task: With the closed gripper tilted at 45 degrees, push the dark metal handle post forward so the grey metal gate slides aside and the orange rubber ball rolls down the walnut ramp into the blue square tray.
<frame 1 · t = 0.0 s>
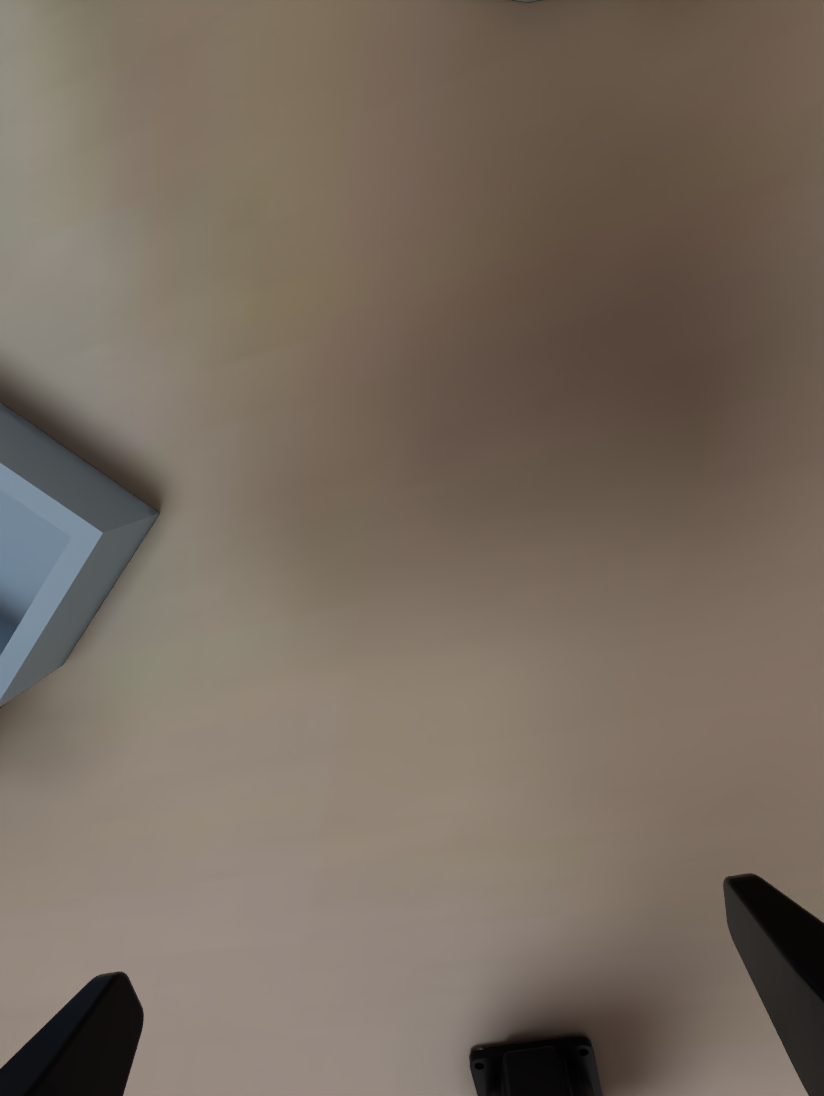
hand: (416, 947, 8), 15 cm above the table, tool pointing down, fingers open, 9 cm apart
blue square tray: (19, 532, 22), on the table
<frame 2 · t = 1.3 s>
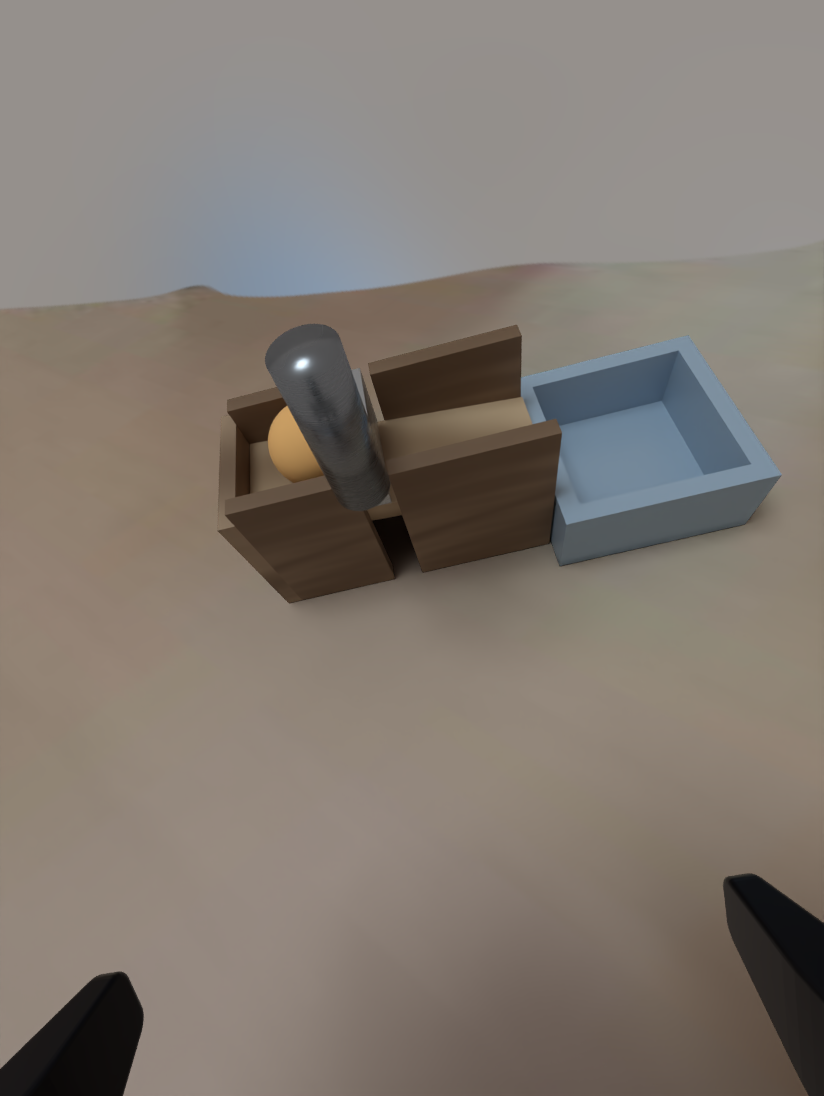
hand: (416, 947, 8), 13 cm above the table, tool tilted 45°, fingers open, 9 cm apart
gate: (347, 407, 17), point 10 cm above the table, slide at 0.0 cm, touching ball
blue square tray: (617, 473, 26), on the table
ramp frame: (418, 520, 27), on the table
ball: (312, 444, 21), point 7 cm above the table, tilted 5°, touching gate, ramp frame
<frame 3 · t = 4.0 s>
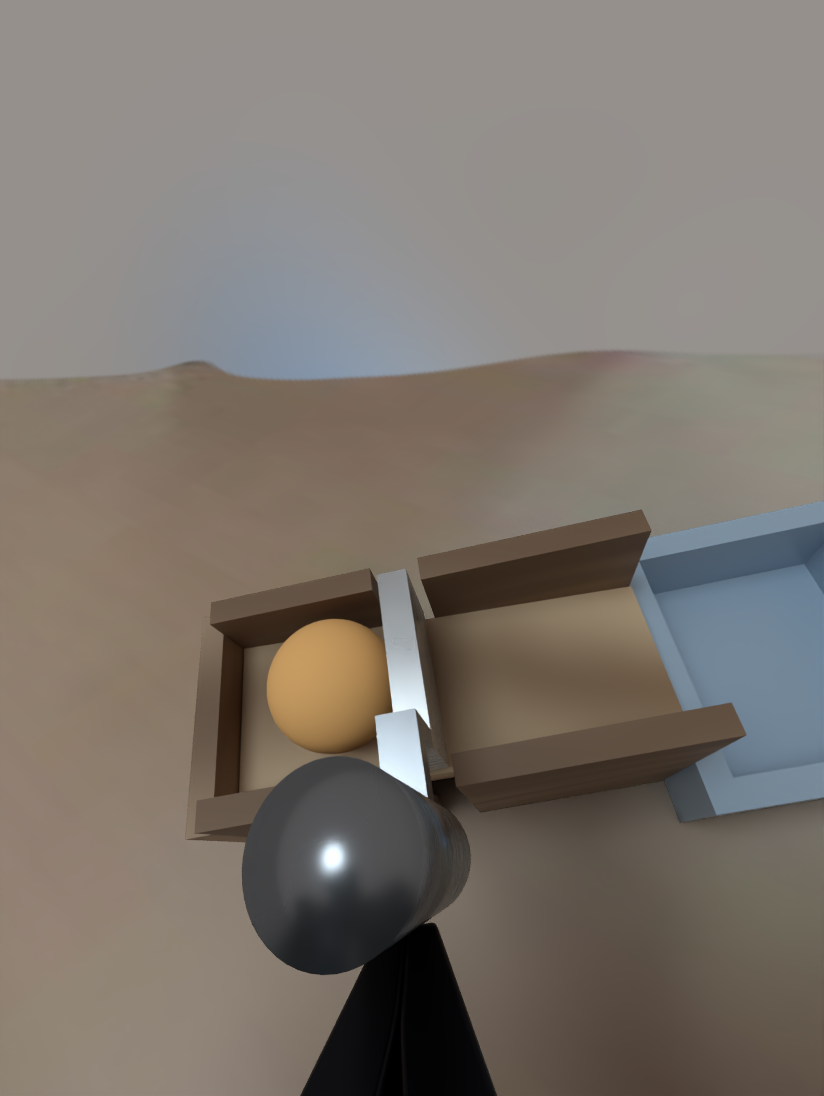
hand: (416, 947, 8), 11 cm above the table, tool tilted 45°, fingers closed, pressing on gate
gate: (395, 693, 10), point 10 cm above the table, slide at 0.3 cm, touching gripper
blue square tray: (750, 671, 19), on the table
ramp frame: (471, 724, 20), on the table
ball: (333, 684, 14), point 7 cm above the table, tilted 6°, touching ramp frame
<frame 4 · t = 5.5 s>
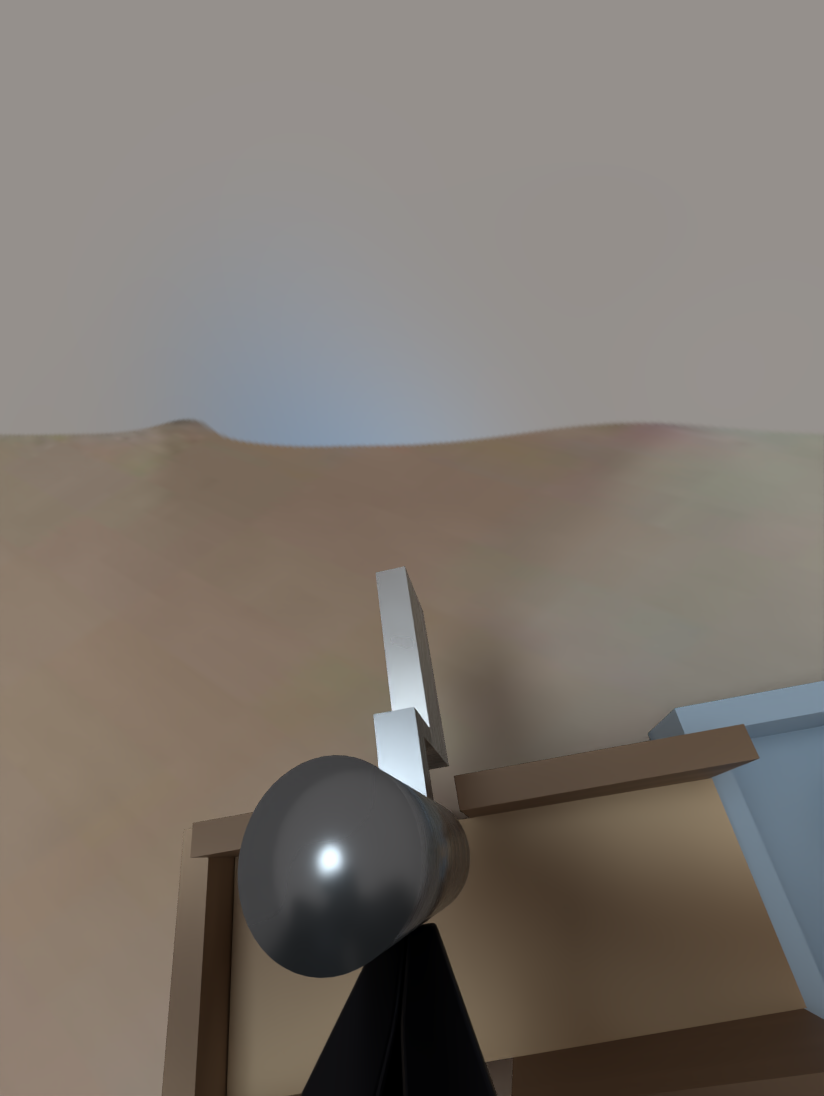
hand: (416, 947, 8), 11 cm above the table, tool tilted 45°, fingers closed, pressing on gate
gate: (394, 691, 10), point 10 cm above the table, slide at 6.1 cm, touching gripper
ramp frame: (507, 905, 17), on the table
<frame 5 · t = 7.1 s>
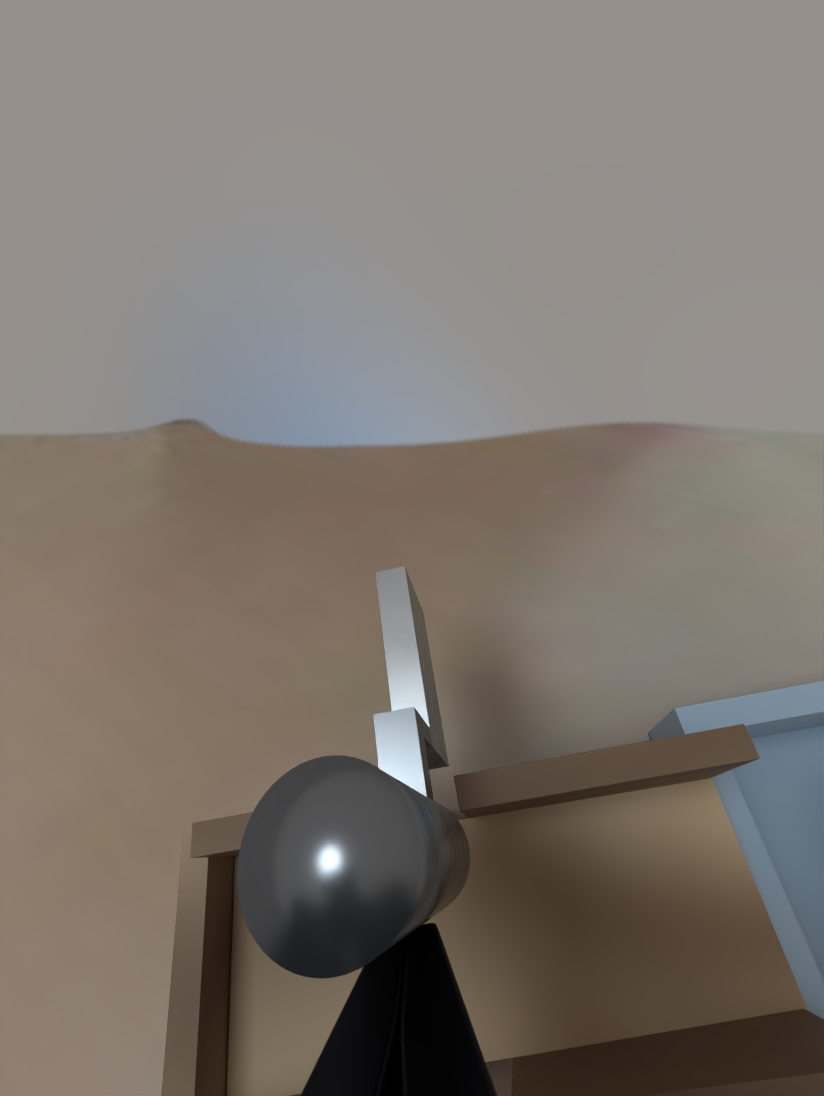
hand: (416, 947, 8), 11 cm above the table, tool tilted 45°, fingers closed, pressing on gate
gate: (393, 691, 10), point 10 cm above the table, slide at 6.1 cm, touching gripper
ramp frame: (507, 905, 17), on the table
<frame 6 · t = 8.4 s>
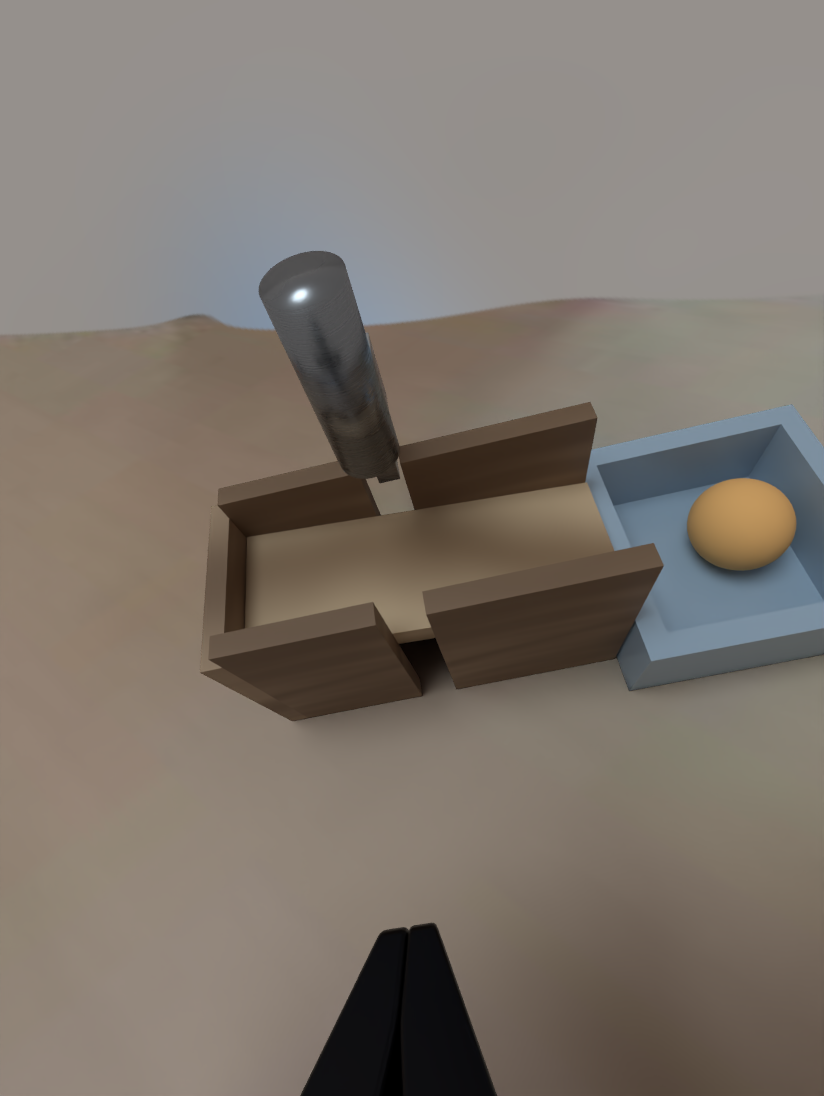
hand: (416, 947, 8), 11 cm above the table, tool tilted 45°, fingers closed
gate: (353, 367, 16), point 10 cm above the table, slide at 6.1 cm
blue square tray: (696, 568, 21), on the table
ramp frame: (450, 619, 22), on the table
ball: (739, 524, 20), point 2 cm above the table, tilted 160°, touching blue square tray
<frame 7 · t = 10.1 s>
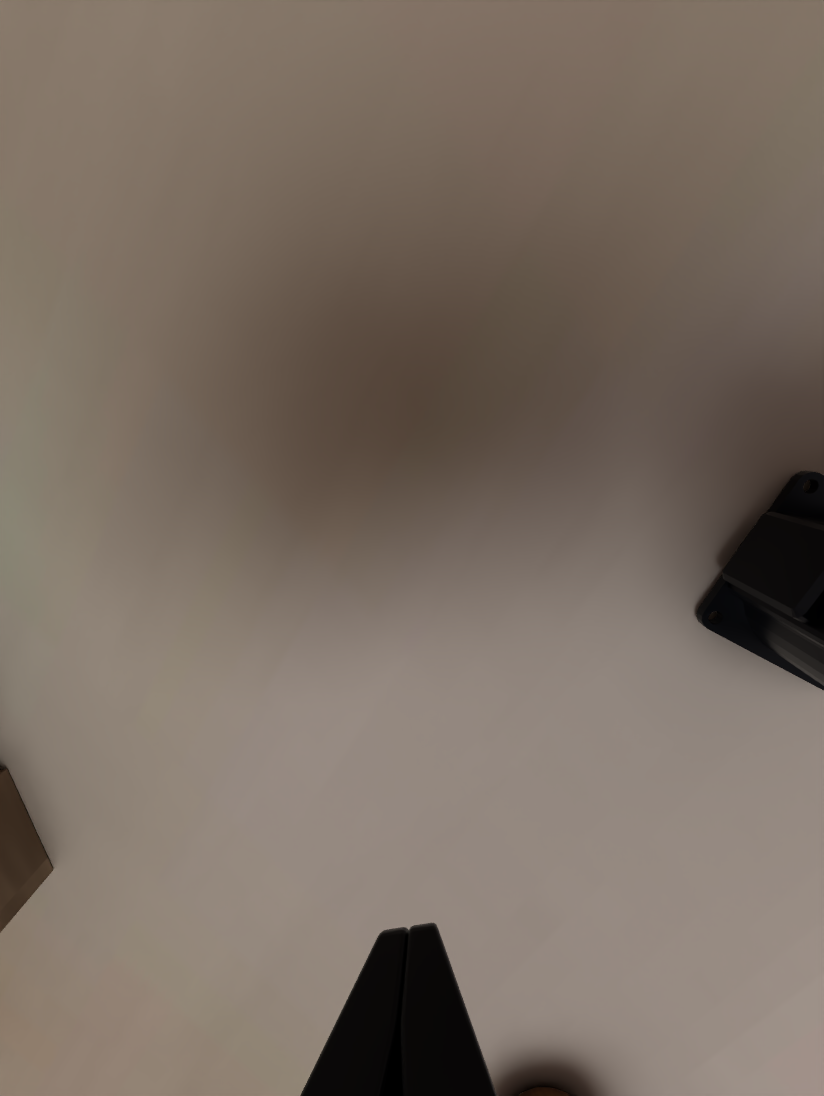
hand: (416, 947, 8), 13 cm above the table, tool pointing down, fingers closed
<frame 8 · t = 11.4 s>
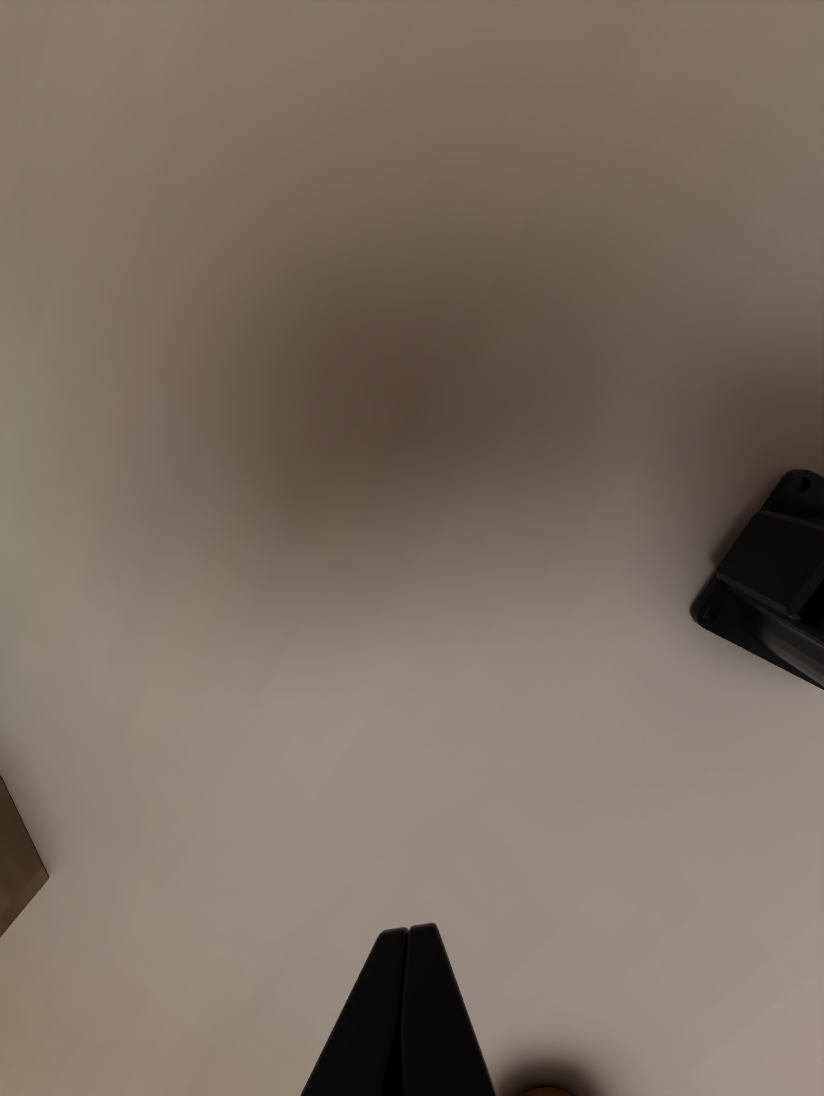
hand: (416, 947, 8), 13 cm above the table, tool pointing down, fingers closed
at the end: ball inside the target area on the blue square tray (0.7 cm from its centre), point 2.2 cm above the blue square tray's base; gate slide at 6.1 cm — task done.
